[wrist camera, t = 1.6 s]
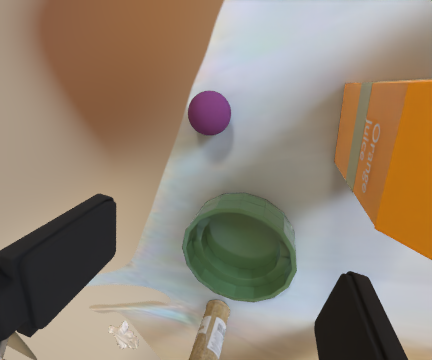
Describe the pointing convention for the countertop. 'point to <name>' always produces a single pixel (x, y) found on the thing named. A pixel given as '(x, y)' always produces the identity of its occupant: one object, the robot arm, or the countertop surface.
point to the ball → (209, 113)
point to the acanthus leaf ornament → (124, 336)
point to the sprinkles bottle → (211, 332)
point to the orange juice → (390, 156)
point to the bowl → (241, 247)
